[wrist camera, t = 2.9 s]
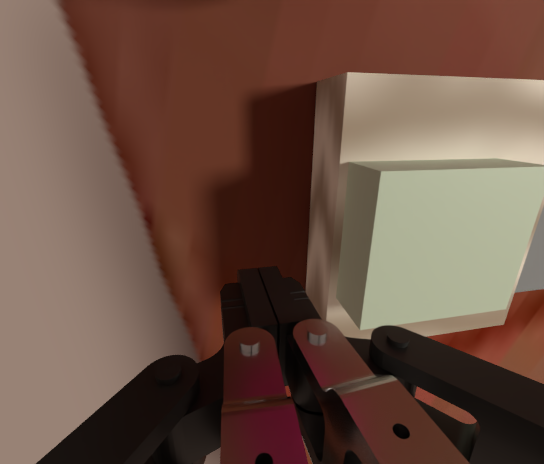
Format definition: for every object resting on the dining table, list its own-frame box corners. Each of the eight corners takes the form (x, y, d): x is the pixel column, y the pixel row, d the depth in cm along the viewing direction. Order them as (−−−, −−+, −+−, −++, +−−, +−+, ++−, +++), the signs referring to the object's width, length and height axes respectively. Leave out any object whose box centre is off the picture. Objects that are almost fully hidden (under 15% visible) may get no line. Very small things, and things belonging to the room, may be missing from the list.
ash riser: (316, 81, 17) (347, 72, 14) (515, 88, 20) (585, 81, 17) (304, 314, 23) (323, 352, 19) (461, 294, 26) (503, 324, 22)
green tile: (348, 161, 15) (381, 171, 13) (497, 158, 17) (553, 166, 14) (335, 297, 18) (359, 330, 15) (464, 282, 20) (506, 309, 17)
